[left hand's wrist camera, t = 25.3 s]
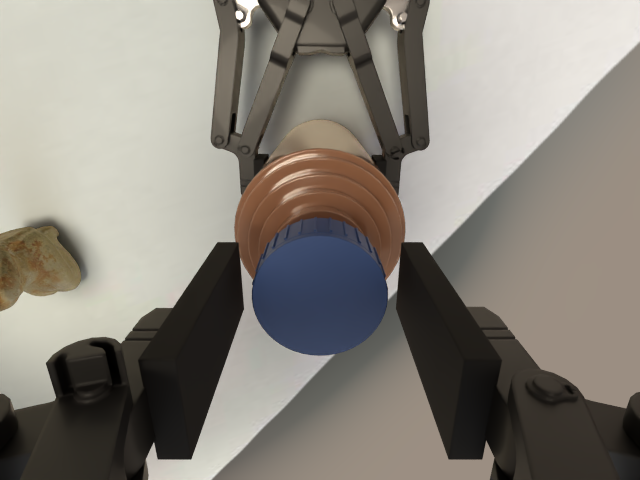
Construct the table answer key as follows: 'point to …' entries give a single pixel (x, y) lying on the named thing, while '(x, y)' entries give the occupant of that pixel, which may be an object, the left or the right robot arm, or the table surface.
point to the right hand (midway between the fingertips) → (319, 238)
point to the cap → (319, 287)
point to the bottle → (319, 193)
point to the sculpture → (34, 264)
